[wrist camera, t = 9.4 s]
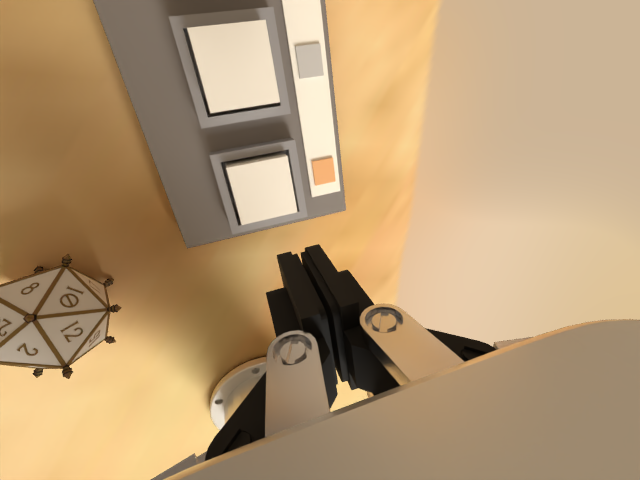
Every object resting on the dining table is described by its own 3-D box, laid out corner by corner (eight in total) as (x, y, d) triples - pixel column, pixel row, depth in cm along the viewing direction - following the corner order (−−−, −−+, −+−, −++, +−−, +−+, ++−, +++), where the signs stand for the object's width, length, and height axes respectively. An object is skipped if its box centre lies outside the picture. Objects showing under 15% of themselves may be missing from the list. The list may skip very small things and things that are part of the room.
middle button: (275, 101, 21) (280, 102, 20) (211, 111, 21) (210, 113, 19) (261, 26, 19) (265, 19, 18) (190, 34, 19) (187, 27, 17)
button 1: (292, 204, 26) (297, 212, 24) (240, 216, 25) (241, 225, 23) (282, 151, 24) (287, 156, 22) (225, 162, 23) (226, 168, 21)
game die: (73, 278, 29) (-77, 360, 21) (73, 213, 24) (-122, 286, 16) (148, 334, 29) (27, 439, 21) (163, 280, 24) (13, 389, 16)
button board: (338, 203, 30) (352, 215, 27) (189, 238, 27) (185, 256, 24) (297, -163, 19) (312, -214, 16) (39, -168, 16) (-4, -230, 13)
